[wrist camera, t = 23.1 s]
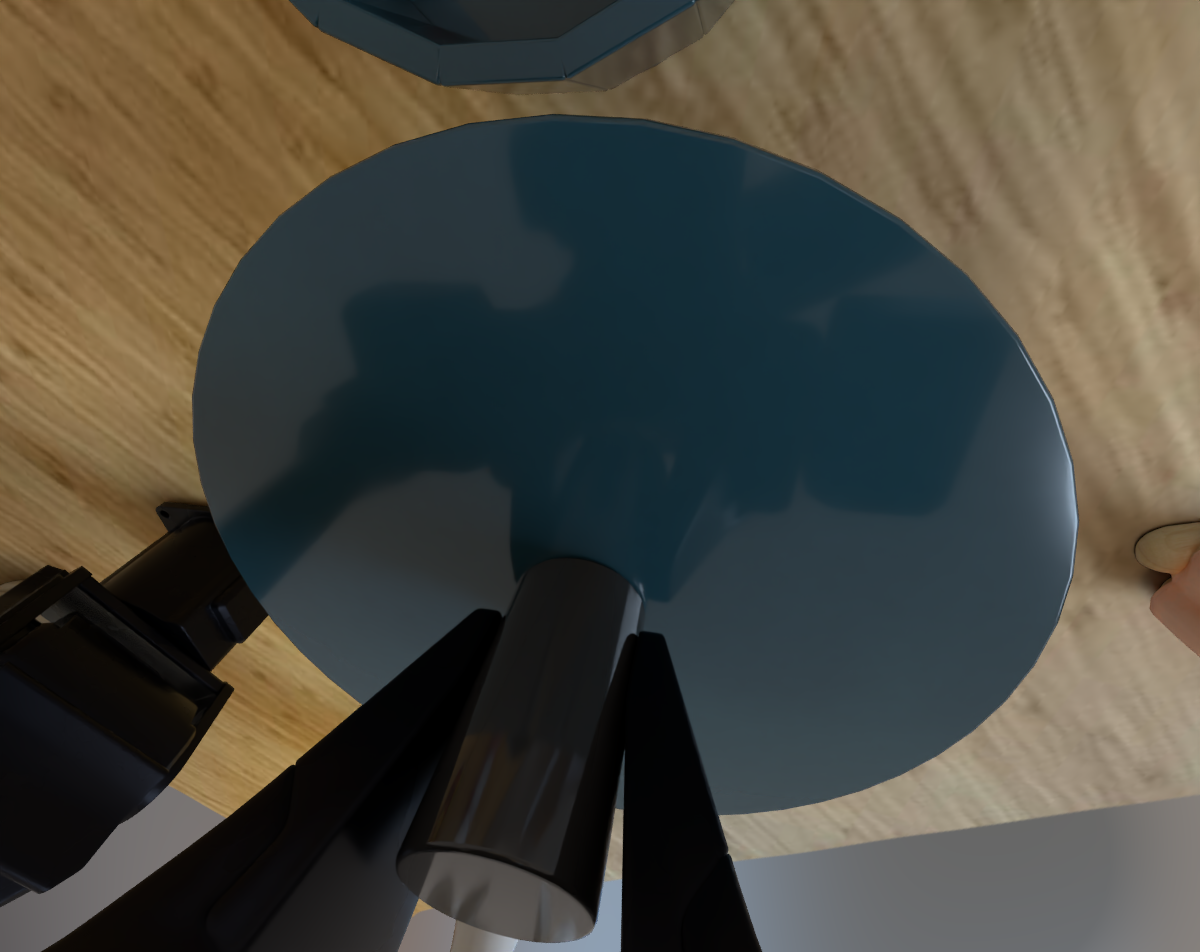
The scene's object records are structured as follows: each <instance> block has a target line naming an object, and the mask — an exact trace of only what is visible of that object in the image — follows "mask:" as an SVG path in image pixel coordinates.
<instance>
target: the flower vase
mask: <svg viewBox="0 0 1200 952" xmlns="http://www.w3.org/2000/svg"><path fill="white" fill-rule="evenodd" d="M518 941H519V939H514V938H509V937H505V936H501V935H497V934H494V933H491V932H487V931H484V930H481V929H478V928H476V927H473V926H470V925H468V924H465V923H463V922H460V921H458V920H456V923H455V930H454V935H453V941H452V945H451V950H450V952H514V950H515V947H516V945H517V943H518Z"/></svg>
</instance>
